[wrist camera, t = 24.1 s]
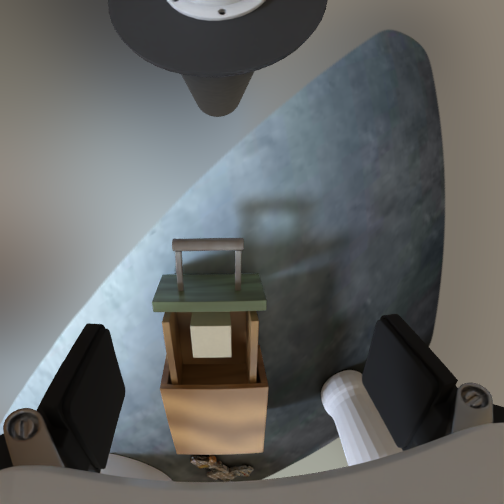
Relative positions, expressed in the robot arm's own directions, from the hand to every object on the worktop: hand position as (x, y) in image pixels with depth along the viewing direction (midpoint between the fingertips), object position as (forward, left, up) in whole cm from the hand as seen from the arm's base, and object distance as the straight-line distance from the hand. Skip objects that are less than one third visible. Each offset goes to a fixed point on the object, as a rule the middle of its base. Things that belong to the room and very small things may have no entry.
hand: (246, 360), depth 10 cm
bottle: (+28, -20, -26) cm, 43 cm away
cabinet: (+8, -25, -26) cm, 37 cm away
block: (+3, -13, -24) cm, 28 cm away
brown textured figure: (+17, -49, -26) cm, 58 cm away
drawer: (+3, -12, -25) cm, 28 cm away
